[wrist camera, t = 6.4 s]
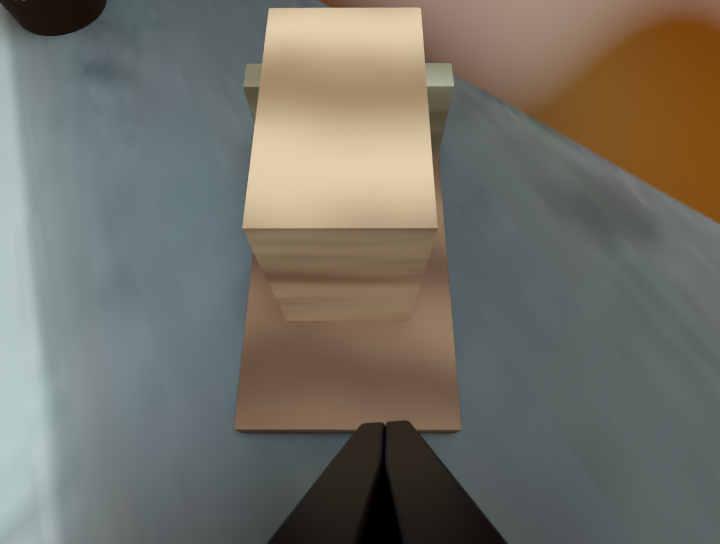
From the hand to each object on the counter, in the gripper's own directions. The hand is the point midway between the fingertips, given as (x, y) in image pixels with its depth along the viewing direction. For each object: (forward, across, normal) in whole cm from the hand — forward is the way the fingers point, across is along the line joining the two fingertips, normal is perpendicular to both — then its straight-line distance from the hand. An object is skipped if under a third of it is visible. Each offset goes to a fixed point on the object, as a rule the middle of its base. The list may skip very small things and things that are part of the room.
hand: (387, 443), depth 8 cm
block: (+17, +2, -1) cm, 17 cm away
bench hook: (+17, +2, +2) cm, 17 cm away
